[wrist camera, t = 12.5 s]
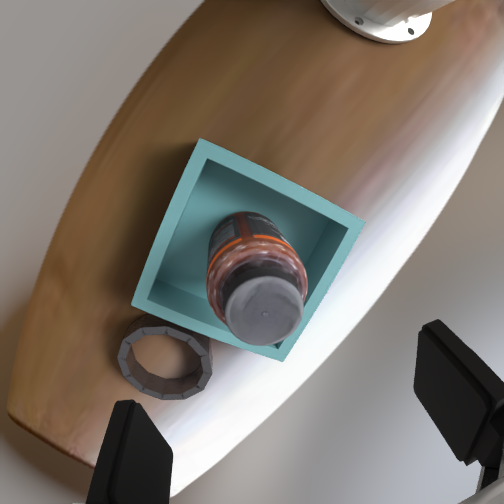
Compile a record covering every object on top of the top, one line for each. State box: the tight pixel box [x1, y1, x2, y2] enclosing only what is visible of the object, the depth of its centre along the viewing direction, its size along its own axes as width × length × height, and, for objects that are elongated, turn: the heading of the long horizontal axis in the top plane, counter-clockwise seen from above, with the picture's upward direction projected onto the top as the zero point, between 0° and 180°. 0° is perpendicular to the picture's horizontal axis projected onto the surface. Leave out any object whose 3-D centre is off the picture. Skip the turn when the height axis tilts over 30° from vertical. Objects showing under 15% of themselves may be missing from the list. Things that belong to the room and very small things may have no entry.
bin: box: [131, 138, 366, 362], centre depth 25 cm, size 13×13×5 cm
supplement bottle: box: [206, 211, 308, 346], centre depth 21 cm, size 6×6×11 cm
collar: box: [117, 314, 212, 400], centre depth 29 cm, size 9×9×2 cm
